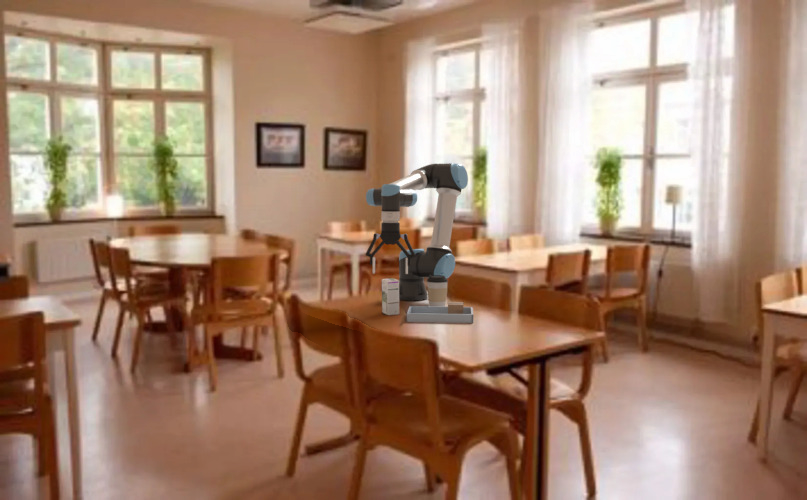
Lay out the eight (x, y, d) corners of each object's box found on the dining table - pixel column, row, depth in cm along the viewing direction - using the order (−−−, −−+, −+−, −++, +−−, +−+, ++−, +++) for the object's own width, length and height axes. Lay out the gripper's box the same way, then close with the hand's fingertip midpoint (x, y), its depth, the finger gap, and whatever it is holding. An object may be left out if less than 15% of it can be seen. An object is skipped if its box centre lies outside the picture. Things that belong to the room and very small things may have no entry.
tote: (409, 315, 278) (409, 305, 277) (472, 316, 275) (472, 307, 275) (406, 323, 262) (406, 313, 261) (473, 325, 260) (473, 314, 259)
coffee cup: (448, 308, 294) (448, 274, 292) (447, 312, 285) (447, 276, 283) (427, 307, 295) (427, 273, 293) (425, 311, 286) (426, 276, 284)
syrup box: (399, 314, 280) (399, 279, 278) (386, 315, 277) (386, 280, 276) (394, 312, 285) (394, 277, 284) (381, 313, 283) (381, 278, 281)
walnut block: (448, 316, 271) (448, 301, 271) (463, 317, 271) (463, 302, 270) (447, 319, 265) (448, 304, 265) (463, 320, 265) (463, 304, 264)
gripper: (359, 222, 275) (358, 273, 277) (420, 222, 273) (419, 275, 275) (361, 221, 282) (361, 271, 284) (421, 221, 280) (421, 272, 282)
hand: (390, 273), depth 279 cm, fingers open, 13 cm apart
